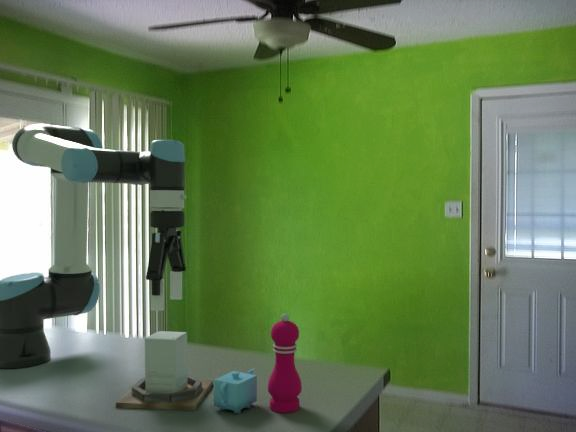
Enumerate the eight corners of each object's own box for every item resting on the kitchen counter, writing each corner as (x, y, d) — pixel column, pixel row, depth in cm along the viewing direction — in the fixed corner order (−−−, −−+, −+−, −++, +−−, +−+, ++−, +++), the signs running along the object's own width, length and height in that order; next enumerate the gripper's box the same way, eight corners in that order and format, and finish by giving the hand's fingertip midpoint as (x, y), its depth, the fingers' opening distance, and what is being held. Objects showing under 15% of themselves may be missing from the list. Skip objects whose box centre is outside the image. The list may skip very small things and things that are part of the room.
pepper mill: (266, 402, 121) (267, 310, 120) (299, 401, 121) (300, 310, 121) (268, 414, 113) (268, 317, 113) (303, 413, 114) (304, 316, 113)
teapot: (242, 395, 125) (242, 362, 125) (265, 400, 122) (265, 366, 122) (208, 412, 115) (209, 376, 114) (232, 418, 111) (232, 381, 111)
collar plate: (115, 407, 117) (115, 395, 117) (144, 381, 134) (143, 371, 134) (194, 410, 115) (194, 398, 115) (213, 384, 132) (213, 373, 132)
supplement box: (188, 386, 128) (188, 331, 127) (175, 397, 120) (175, 339, 120) (158, 384, 129) (158, 330, 129) (144, 394, 122) (144, 337, 122)
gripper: (166, 210, 111) (166, 316, 112) (198, 209, 136) (197, 295, 136) (130, 210, 112) (130, 315, 112) (168, 209, 137) (168, 294, 137)
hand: (167, 304), depth 124 cm, fingers open, 13 cm apart
